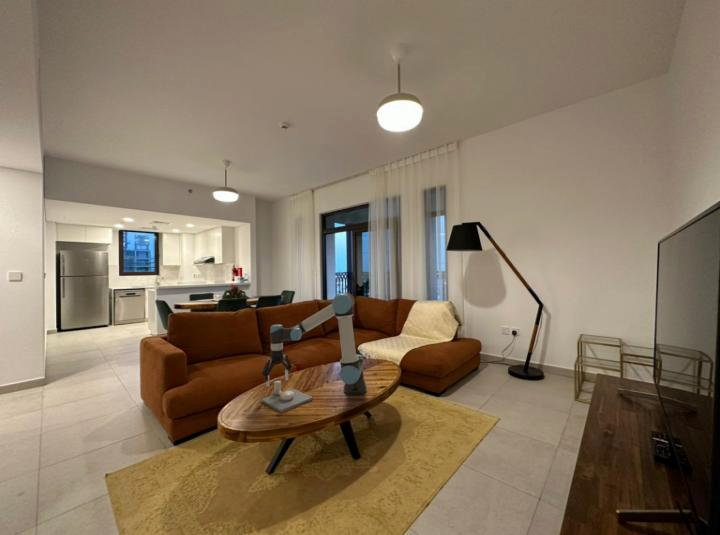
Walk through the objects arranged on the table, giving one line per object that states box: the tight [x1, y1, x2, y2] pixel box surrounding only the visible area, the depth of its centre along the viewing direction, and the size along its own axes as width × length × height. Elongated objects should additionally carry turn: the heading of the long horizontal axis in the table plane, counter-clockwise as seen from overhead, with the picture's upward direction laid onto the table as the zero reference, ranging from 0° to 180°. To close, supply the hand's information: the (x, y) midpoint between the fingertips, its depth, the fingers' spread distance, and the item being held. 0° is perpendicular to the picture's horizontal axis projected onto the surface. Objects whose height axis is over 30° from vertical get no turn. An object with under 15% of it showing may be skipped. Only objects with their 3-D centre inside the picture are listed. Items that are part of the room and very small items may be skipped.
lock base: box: [261, 388, 314, 414], centre depth 174 cm, size 22×22×2 cm
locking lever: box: [273, 380, 294, 401], centre depth 177 cm, size 17×8×7 cm, turn 47°
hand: (277, 383), depth 181 cm, fingers open, 13 cm apart
